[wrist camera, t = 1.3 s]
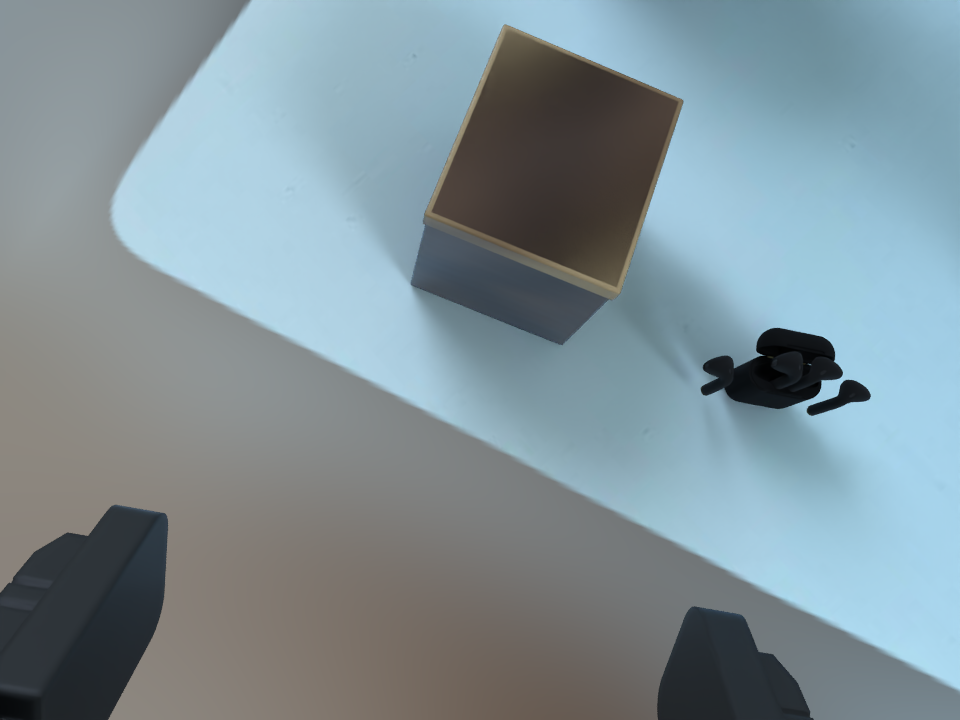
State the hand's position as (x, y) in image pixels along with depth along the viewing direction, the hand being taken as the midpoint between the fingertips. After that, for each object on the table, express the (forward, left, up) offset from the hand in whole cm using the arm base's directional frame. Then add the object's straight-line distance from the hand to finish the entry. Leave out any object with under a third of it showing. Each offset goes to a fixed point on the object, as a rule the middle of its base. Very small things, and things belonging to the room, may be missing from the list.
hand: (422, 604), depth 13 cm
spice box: (+1, +16, -20) cm, 26 cm away
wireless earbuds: (+13, +14, -20) cm, 28 cm away
